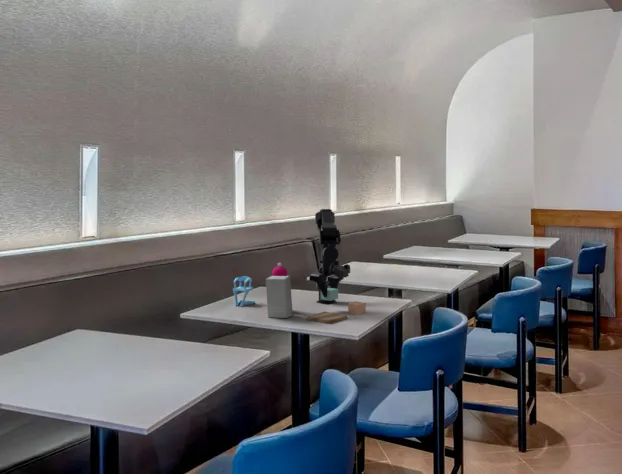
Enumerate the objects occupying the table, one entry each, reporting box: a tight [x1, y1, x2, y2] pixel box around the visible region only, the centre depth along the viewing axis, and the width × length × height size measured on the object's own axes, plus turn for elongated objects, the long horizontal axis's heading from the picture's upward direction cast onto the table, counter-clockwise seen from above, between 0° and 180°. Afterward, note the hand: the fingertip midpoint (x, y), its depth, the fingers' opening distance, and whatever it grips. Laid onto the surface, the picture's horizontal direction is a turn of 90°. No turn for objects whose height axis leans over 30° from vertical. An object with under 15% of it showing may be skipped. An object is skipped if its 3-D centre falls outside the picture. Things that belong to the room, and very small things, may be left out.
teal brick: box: [321, 288, 339, 301], centre depth 243 cm, size 5×5×4 cm
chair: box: [232, 275, 256, 307], centre depth 259 cm, size 8×8×12 cm
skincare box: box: [265, 275, 293, 319], centre depth 235 cm, size 8×7×16 cm
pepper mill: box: [271, 262, 288, 276], centre depth 244 cm, size 7×7×20 cm
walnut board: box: [306, 311, 348, 325], centre depth 231 cm, size 11×11×1 cm
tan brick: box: [347, 301, 367, 315], centre depth 241 cm, size 5×5×4 cm
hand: (329, 296), depth 243 cm, fingers closed on teal brick, 5 cm apart
